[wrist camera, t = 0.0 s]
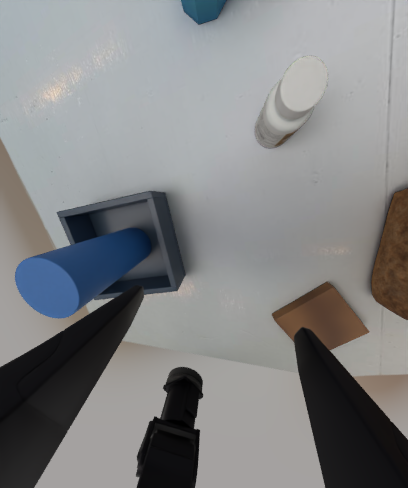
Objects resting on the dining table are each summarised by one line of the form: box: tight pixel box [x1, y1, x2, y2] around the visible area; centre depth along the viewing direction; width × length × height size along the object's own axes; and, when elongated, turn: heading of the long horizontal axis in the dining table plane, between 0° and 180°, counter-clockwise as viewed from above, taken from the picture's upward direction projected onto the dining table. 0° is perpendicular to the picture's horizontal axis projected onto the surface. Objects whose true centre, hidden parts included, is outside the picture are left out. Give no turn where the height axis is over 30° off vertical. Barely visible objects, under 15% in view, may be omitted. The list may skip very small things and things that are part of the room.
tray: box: [57, 191, 185, 300], centre depth 23 cm, size 14×14×5 cm
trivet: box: [272, 282, 369, 350], centre depth 25 cm, size 10×10×2 cm
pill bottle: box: [255, 56, 328, 148], centre depth 15 cm, size 4×4×8 cm
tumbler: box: [15, 228, 151, 318], centre depth 19 cm, size 6×6×13 cm
